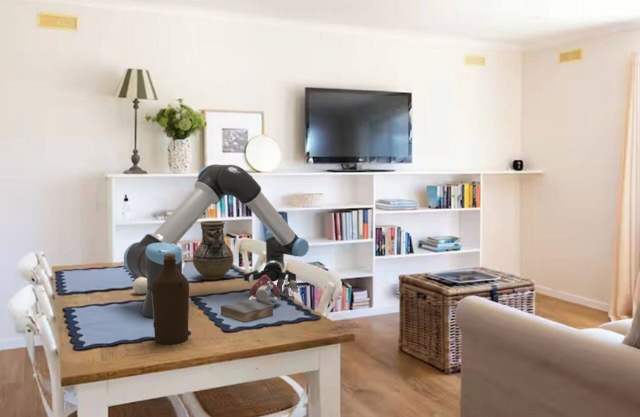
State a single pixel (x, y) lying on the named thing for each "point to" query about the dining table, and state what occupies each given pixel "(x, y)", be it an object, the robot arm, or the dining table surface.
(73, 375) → the dining table surface
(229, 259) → the decorative pitcher
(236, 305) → the stand
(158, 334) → the olive oil
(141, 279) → the baseball
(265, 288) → the brake caliper
